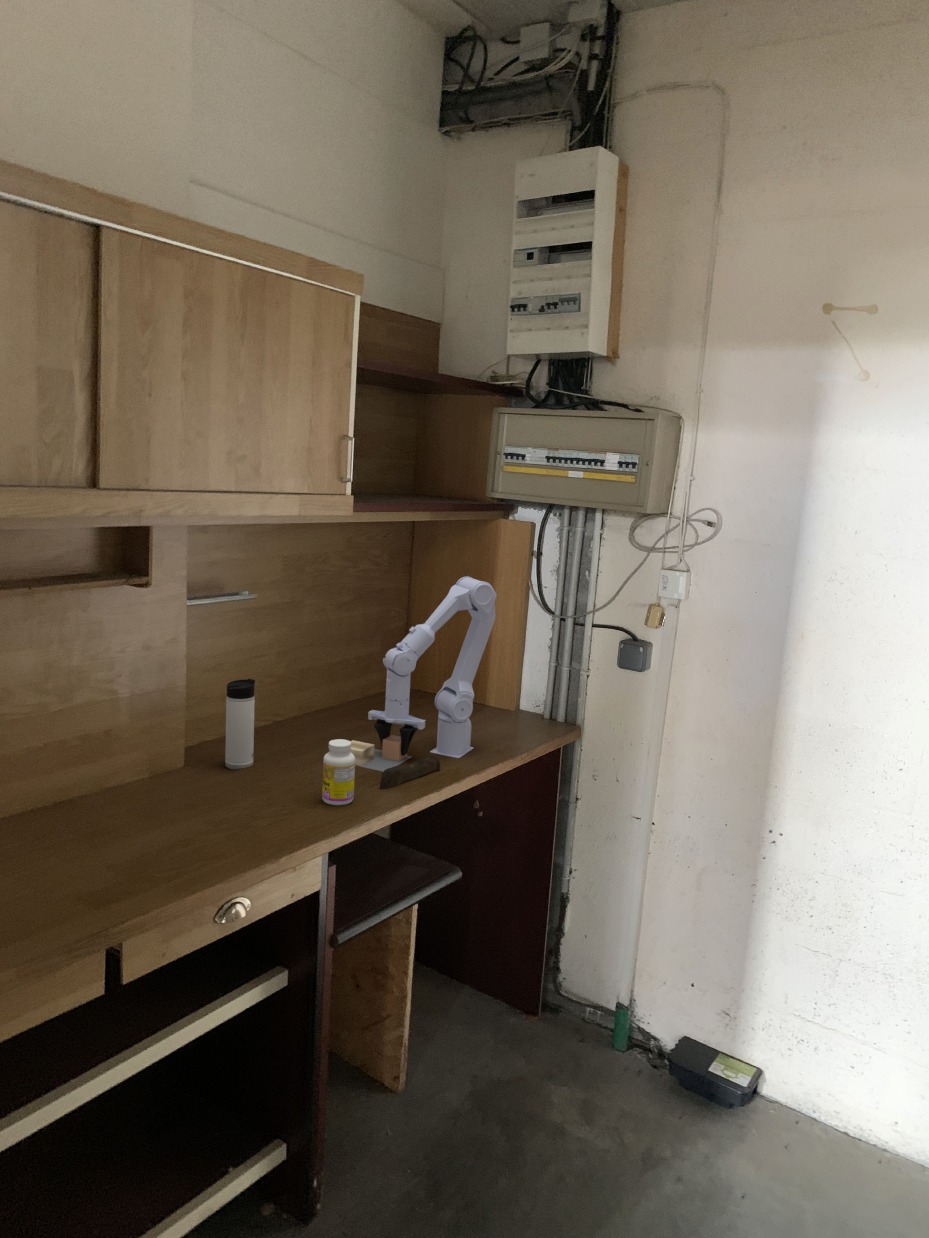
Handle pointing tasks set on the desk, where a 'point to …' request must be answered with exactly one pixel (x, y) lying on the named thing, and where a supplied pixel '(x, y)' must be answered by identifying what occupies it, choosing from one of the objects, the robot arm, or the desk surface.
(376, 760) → the rubber mat
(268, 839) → the desk surface
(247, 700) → the travel mug
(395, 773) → the hand tool
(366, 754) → the beech block
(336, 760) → the supplement bottle
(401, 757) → the terracotta cube
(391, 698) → the robot arm
